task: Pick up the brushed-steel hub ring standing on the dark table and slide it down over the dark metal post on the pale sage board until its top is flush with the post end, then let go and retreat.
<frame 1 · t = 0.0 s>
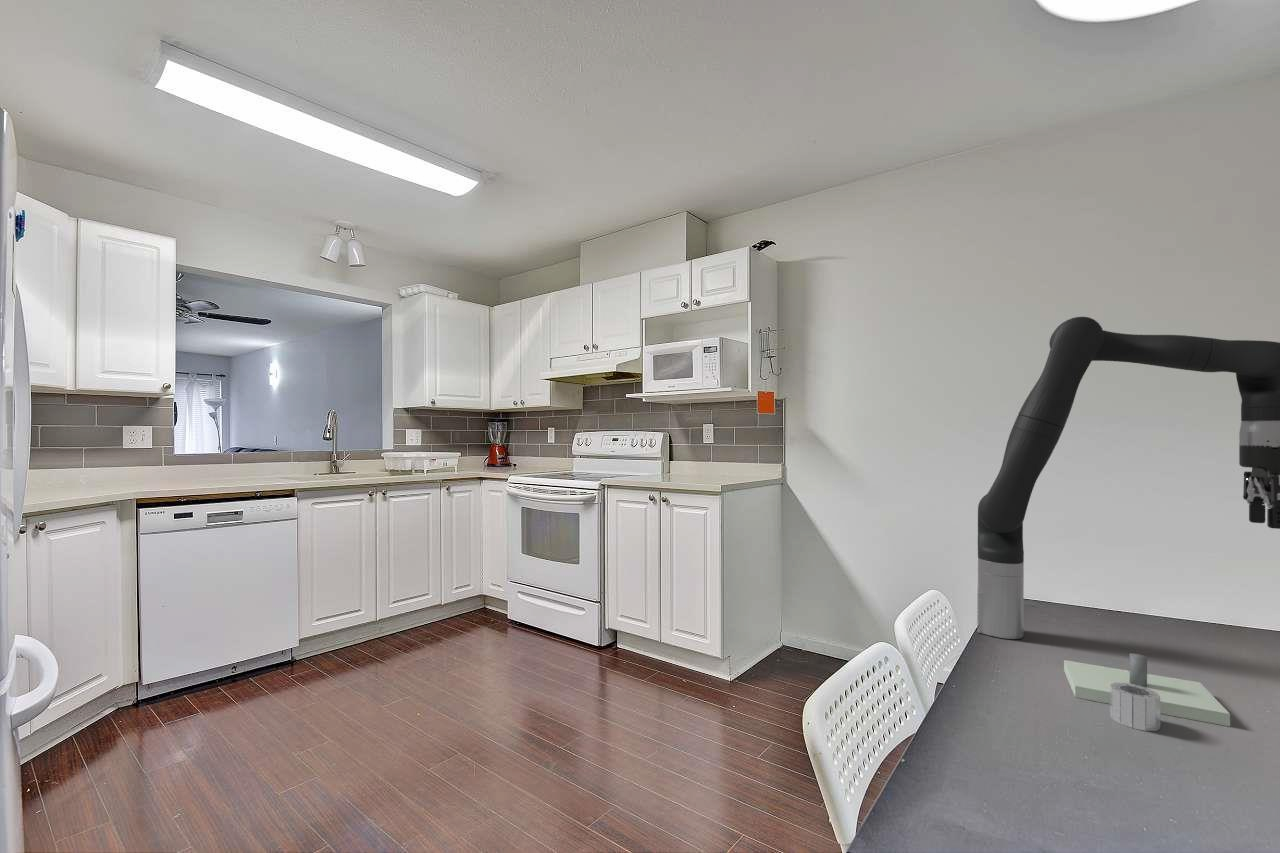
hand: (1266, 525, 116), 29 cm above the table, fingers open, 8 cm apart
hub: (1134, 721, 94), on the table
post base: (1138, 695, 104), on the table
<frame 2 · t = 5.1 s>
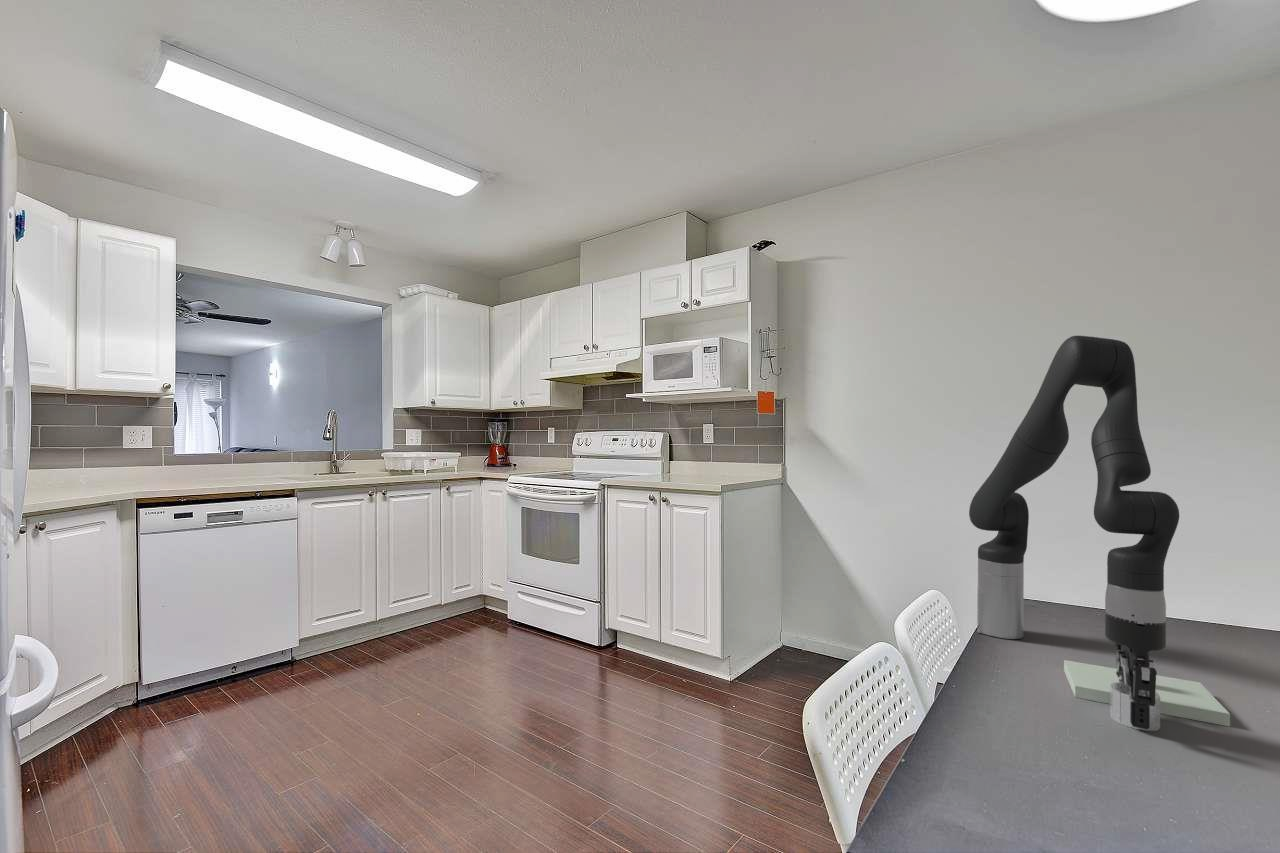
hand: (1134, 717, 94), 1 cm above the table, fingers closed on hub, 6 cm apart
hub: (1134, 721, 94), on the table, touching gripper
when the fingers open (4 cm above the table, at t = 11.4 s): hub drops 1 cm, resting on post base.
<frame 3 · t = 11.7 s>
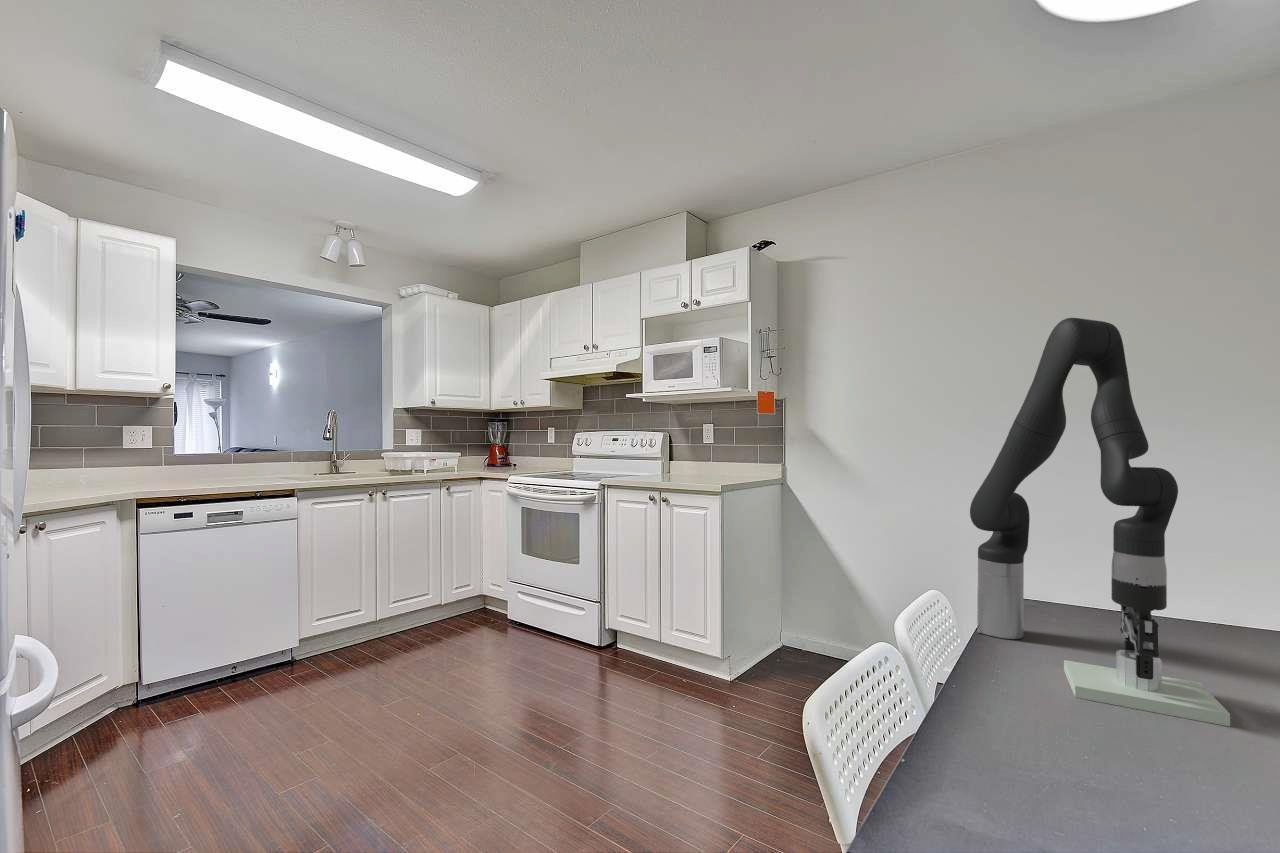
hand: (1138, 669, 104), 5 cm above the table, fingers open, 8 cm apart
hub: (1138, 684, 104), point 2 cm above the table, touching post base
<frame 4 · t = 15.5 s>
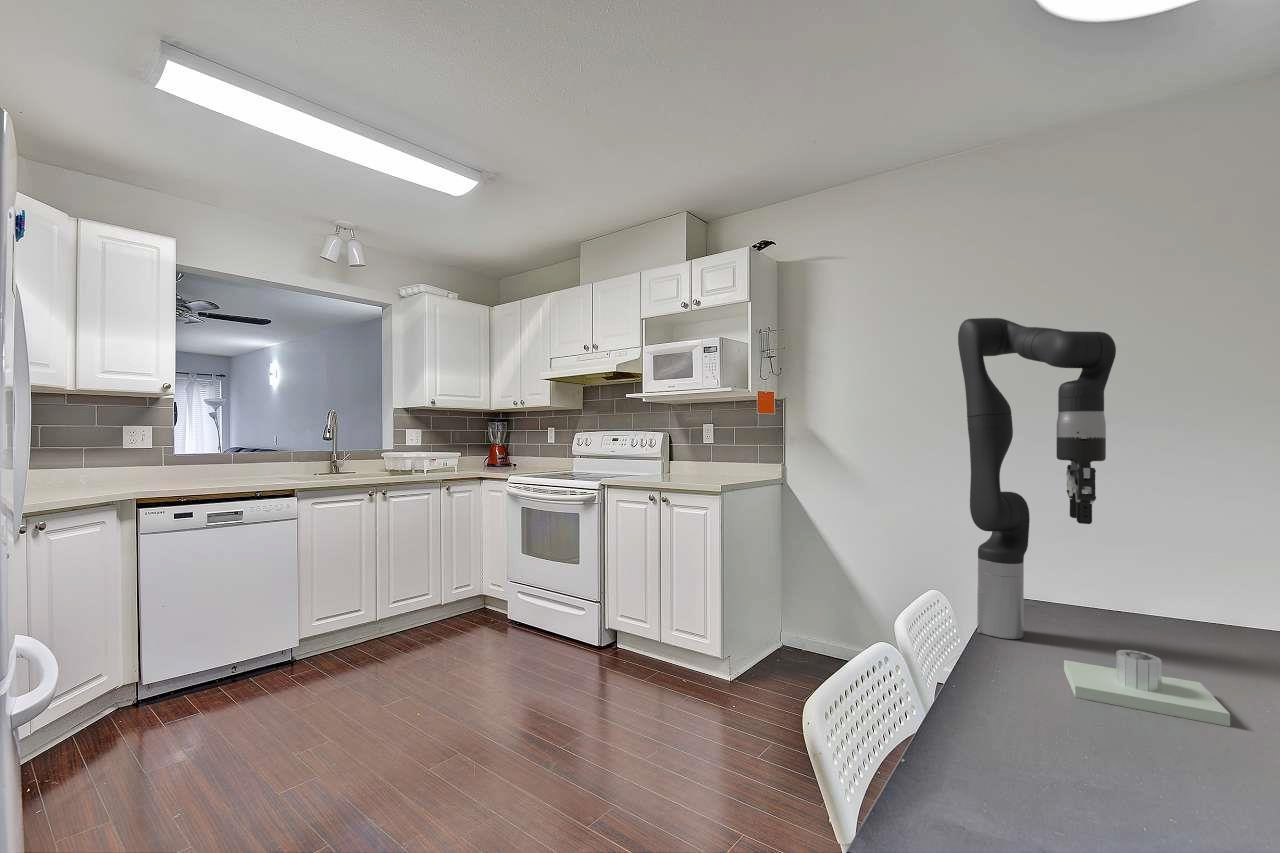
hand: (1080, 520, 111), 30 cm above the table, fingers open, 8 cm apart
nothing on the table moved.
at the end: hub 0.0 cm off-centre on the post base, point 2.0 cm above the post base's base; hub tilted 0°; the gripper is holding nothing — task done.
